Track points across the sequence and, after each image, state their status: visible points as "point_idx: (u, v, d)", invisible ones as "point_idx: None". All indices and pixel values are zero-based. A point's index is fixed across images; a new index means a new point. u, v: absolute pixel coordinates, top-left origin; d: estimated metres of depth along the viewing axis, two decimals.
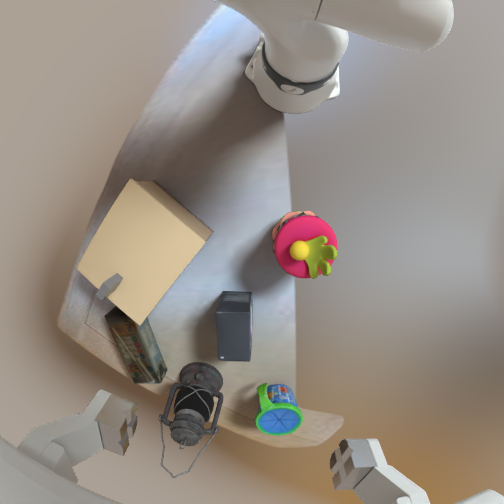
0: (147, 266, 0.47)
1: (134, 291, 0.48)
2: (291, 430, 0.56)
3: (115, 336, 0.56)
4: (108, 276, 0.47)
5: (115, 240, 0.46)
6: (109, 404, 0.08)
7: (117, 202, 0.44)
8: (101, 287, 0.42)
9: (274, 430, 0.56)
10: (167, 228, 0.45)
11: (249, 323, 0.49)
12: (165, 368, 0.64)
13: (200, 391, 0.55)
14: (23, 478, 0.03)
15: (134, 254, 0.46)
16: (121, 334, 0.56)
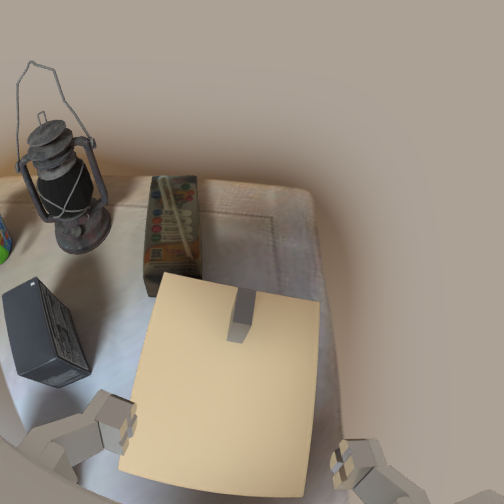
0: (191, 387, 0.23)
1: (195, 328, 0.26)
2: None
3: (192, 243, 0.38)
4: (255, 326, 0.27)
5: (273, 396, 0.24)
6: (109, 404, 0.08)
7: (303, 454, 0.21)
8: (250, 314, 0.22)
9: None
10: (190, 467, 0.19)
11: (14, 357, 0.21)
12: None
13: (59, 212, 0.33)
14: (23, 478, 0.03)
15: (225, 394, 0.23)
16: (176, 245, 0.37)
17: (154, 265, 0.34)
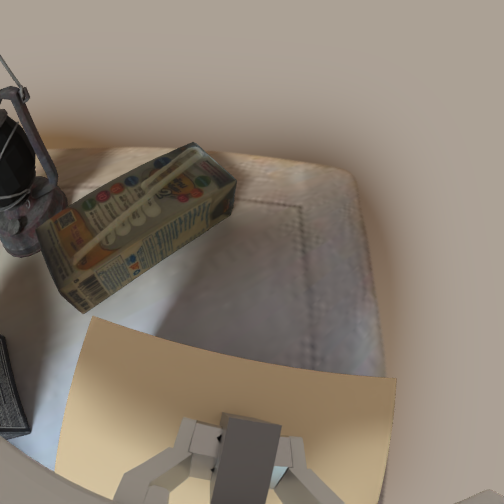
0: None
1: (147, 441, 0.10)
2: None
3: (102, 248, 0.21)
4: None
5: None
6: (198, 432, 0.08)
7: None
8: (260, 488, 0.06)
9: None
10: None
11: None
12: None
13: None
14: (23, 478, 0.03)
15: None
16: (86, 232, 0.21)
17: (49, 229, 0.20)
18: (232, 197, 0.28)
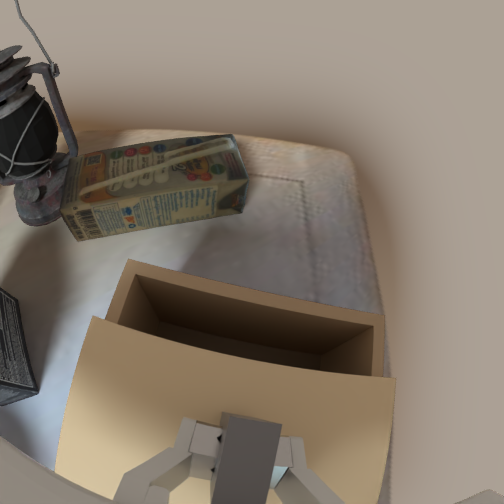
0: None
1: (147, 440, 0.10)
2: None
3: (106, 191, 0.23)
4: None
5: None
6: (199, 432, 0.08)
7: None
8: (260, 487, 0.06)
9: None
10: None
11: None
12: None
13: (9, 166, 0.20)
14: (23, 478, 0.03)
15: None
16: (102, 174, 0.24)
17: (79, 162, 0.25)
18: (242, 194, 0.28)
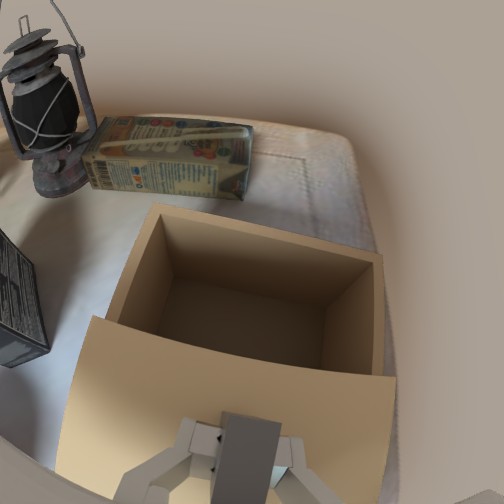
0: None
1: (148, 440, 0.10)
2: None
3: (122, 149, 0.27)
4: None
5: None
6: (198, 432, 0.08)
7: None
8: (260, 486, 0.06)
9: None
10: None
11: None
12: None
13: (33, 138, 0.22)
14: (23, 478, 0.03)
15: None
16: (124, 135, 0.27)
17: (111, 121, 0.28)
18: (242, 181, 0.29)
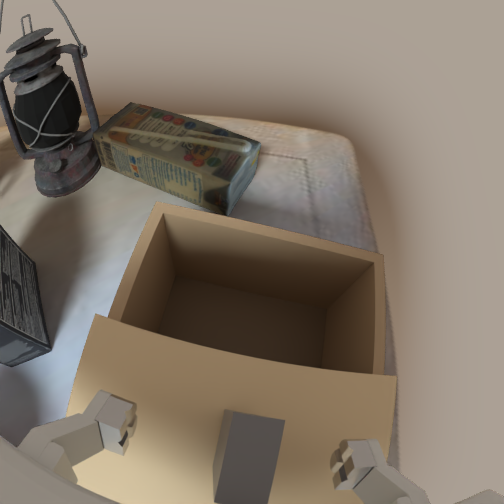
0: None
1: (150, 438, 0.10)
2: None
3: (126, 136, 0.28)
4: None
5: None
6: (109, 404, 0.08)
7: None
8: (263, 483, 0.06)
9: None
10: None
11: None
12: None
13: (35, 137, 0.22)
14: (23, 478, 0.03)
15: None
16: (134, 124, 0.29)
17: (132, 107, 0.30)
18: (224, 196, 0.28)
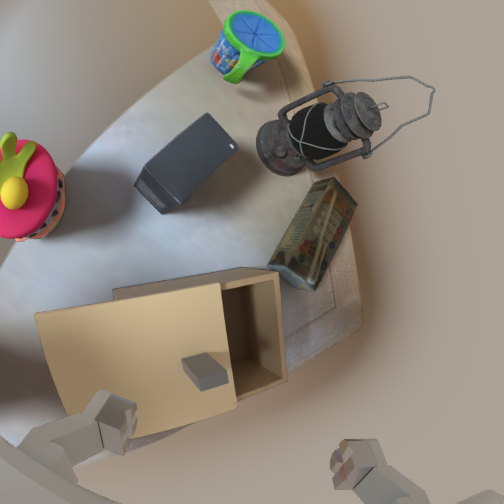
0: (131, 348, 0.27)
1: (181, 332, 0.29)
2: (257, 15, 0.35)
3: (327, 201, 0.47)
4: None
5: (151, 406, 0.27)
6: (109, 404, 0.08)
7: None
8: (209, 387, 0.25)
9: (272, 30, 0.36)
10: (68, 369, 0.23)
11: (157, 154, 0.29)
12: None
13: (296, 136, 0.39)
14: (23, 478, 0.03)
15: (138, 374, 0.27)
16: (337, 207, 0.47)
17: (351, 205, 0.49)
18: (279, 263, 0.45)
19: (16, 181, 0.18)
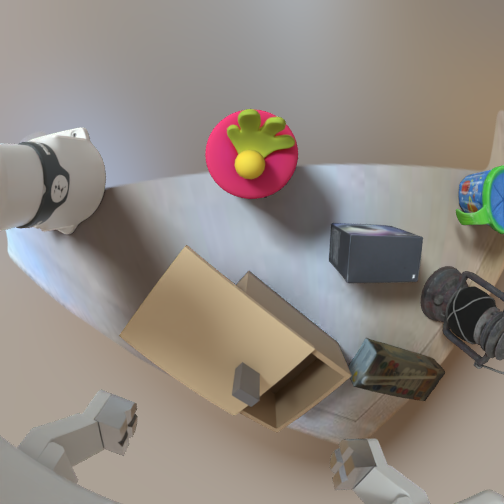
0: (223, 328, 0.35)
1: (261, 350, 0.35)
2: None
3: (427, 373, 0.42)
4: None
5: (191, 364, 0.36)
6: (109, 404, 0.08)
7: (146, 354, 0.36)
8: (238, 397, 0.31)
9: None
10: (169, 296, 0.34)
11: (366, 236, 0.32)
12: None
13: (456, 304, 0.35)
14: (23, 478, 0.03)
15: (208, 343, 0.35)
16: (423, 382, 0.42)
17: (424, 395, 0.43)
18: (375, 347, 0.43)
19: (258, 161, 0.27)
